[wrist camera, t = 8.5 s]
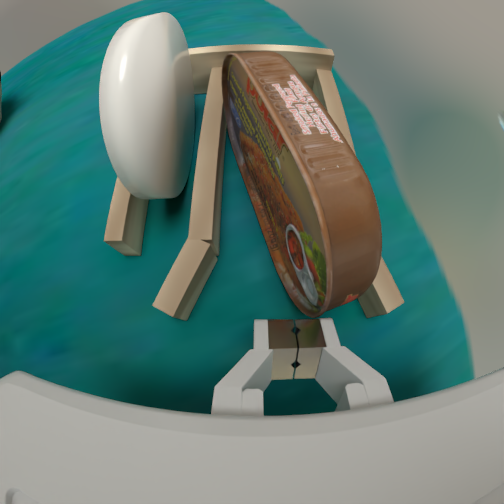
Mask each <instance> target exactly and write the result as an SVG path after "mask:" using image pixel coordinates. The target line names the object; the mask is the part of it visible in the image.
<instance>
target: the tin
mask: <svg viewBox="0 0 504 504" xmlns="http://www.w3.org/2000/svg"><path fill="white" fill-rule="evenodd" d="M221 79H222V82H221V83H222V96H223V104H224V110H225V117H226V123H227V129H228V134H229V138H230V141H231V145H232V149H233V152H234V155H235V158H236V161H237V164H238V167H239V169H240V172H241V174H242V177H243V180H244V183H245V185H246V188H247V191H248V193H249V196H250V199H251V202H252V204H253V207H254V210H255V213H256V215H257V218H258V221H259V224H260V227H261V229H262V232H263V235H264V238H265V240H266V243H267V246H268V249H269V252H270V254H271V257H272V260H273V262H274V265H275V268H276V270H277V272H278V275H279V277H280V279H281V281H282V283H283V285H284V287H285V289H286V291H287V293H288V295H289V296H290V298H291V299H292V301H293V302H294V303H295V305H296V306H297V307H298V308H299V309H300V311H301V312H303V313H304V314H306V315H307V316H309V317H312V318H316V317H319V316H321V315H322V314H323V313H324V312H325V311H328V310H330V309H333V308H335V307H338V306H341V305H343V304H346V303H348V302H351V301H353V300H355V299H357V298H359V297H360V296H361V295H363V294H364V293H365V292H366V291H367V289H368V288H369V287H370V286H371V284H372V283H373V281H374V279H375V278H376V275H377V272H378V269H379V265H380V260H381V251H382V233H381V222H380V217H379V211H378V207H377V203H376V199H375V196H374V193H373V190H372V187H371V184H370V182H369V179H368V177H367V175H366V173H365V171H364V169H363V167H362V165H361V164H360V162H359V161H358V159H357V157H356V155H355V154H354V152H353V150H352V149H351V147H350V145H349V144H348V142H347V140H346V139H345V137H344V136H343V134H342V133H341V131H340V130H339V128H338V126H337V125H336V123H335V122H334V121H333V119H332V118H331V116H330V115H329V113H328V112H327V110H326V109H325V107H324V106H323V105H322V103H321V102H320V101H319V99H318V98H317V96H316V95H315V94H314V92H313V91H312V90H311V88H310V87H309V86H308V84H307V83H306V82H305V81H304V79H303V78H302V77H301V75H300V74H299V73H298V72H297V71H296V69H295V68H294V67H293V66H292V65H291V63H290V62H289V61H288V60H287V59H286V58H285V57H283V56H282V55H281V54H279V53H276V52H270V51H261V52H250V53H241V54H236V53H229V54H227V55H226V56H225V58H224V61H223V65H222V78H221Z"/></svg>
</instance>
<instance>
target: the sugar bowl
mask: <svg viewBox="0 0 504 504" xmlns="http://www.w3.org/2000/svg"><path fill="white" fill-rule="evenodd" d="M1 97H2V88H1V72H0V122H1V119H2V115H1Z"/></svg>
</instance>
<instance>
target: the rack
mask: <svg viewBox="0 0 504 504" xmlns="http://www.w3.org/2000/svg"><path fill="white" fill-rule="evenodd" d="M188 50H189V55H190V60H191V67H192V74H193V84H194V94H202V93H207V96H206V102H205V108H204V114H203V120H202V126H201V133H200V140H199V147H198V154H197V161H196V169H195V177H194V186H193V195H192V204H191V215H190V225H189V237H188V239H187V240H186V242H185V244H184V246H183V248H182V250H181V251H180V253H179V255H178V257H177V259H176V261H175V263H174V264H173V266H172V268H171V270H170V272H169V274H168V276H167V278H166V280H165V282H164V283H163V285H162V287H161V289H160V291H159V293H158V295H157V297H156V299H155V301H154V303H153V305H152V306H154V307H156V308H158V309H159V310H161V311H163V312H165V313H166V314H168V315H170V316H172V317H175V318H178V319H182V320H186V321H187V319H188V317H189V315H190V313H191V311H192V309H193V307H194V305H195V303H196V301H197V299H198V297H199V295H200V293H201V291H202V289H203V287H204V285H205V283H206V281H207V279H208V277H209V275H210V274H211V272H212V270H213V268H214V266H215V264H216V262H217V260H218V259H217V257H216V256H219V240H220V219H221V200H222V183H223V167H224V153H225V139H226V127H227V123H226V117H225V110H224V104H223V96H222V83H221V82H222V79H221V78H222V65H223V61H224V58H225V56H226V55H227V54H229V53H236V54H241V53H250V52H261V51H270V52H276V53H279V54H281V55H282V56H283V57H285V58H286V59H287V60H288V61H289V62H290V63H291V65H292V66H293V67H294V68H295V69H296V71H297V72H298V73H299V74H300V75H301V77H302V78H303V79H304V81H305V82H306V83H307V84H308V86H309V87H310V88H311V90H312V91H313V92H314V94H315V95H316V96H317V98H318V99H319V101H320V102H321V103H322V105H323V106H324V107H325V109H326V110H327V112H328V113H329V115H330V116H331V118H332V119H333V121H334V122H335V123H336V125H337V126H338V128H339V130H340V131H341V133H342V134H343V136H344V137H345V139H346V140H347V142H348V144H349V145H350V147H351V149H352V150H353V152H354V154H355V151H354V147H353V143H352V139H351V135H350V131H349V127H348V124H347V120H346V116H345V113H344V110H343V106H342V103H341V100H340V96H339V93H338V90H337V87H336V84H335V81H334V78H333V75H332V72H331V68H332V64H333V60H334V53H333V51H332V50H331V49H323V48H314V47H303V46H289V45H225V46H211V47H200V48H191V49H188ZM148 202H149V199H140V198H137V197H135V196H134V195H132V194H131V193H130V192H129V191H128V190H127V189H126V188H125V187H124V185H123V184H122V182H121V181H120V179H119V178H118V176H117V180H116V184H115V188H114V193H113V197H112V201H111V206H110V211H109V216H108V221H107V226H106V231H105V237H104V241H105V242H106V243H107V244H109V245H110V246H112V247H113V248H114V249H116V250H117V251H119V252H120V253H122V254H123V255H141V249H142V241H143V234H144V227H145V220H146V214H147V207H148ZM358 300H359V303H360V305H361V307H362V309H363V311H364V313H365V315H366V317H367V318H370V317H374V316H379V315H383V314H388V313H389V312H391V311H392V310H394V309H395V308H397V307H398V306H400V305H401V304H403V303H404V300H403V298H402V296H401V294H400V292H399V290H398V288H397V286H396V284H395V282H394V280H393V278H392V276H391V274H390V272H389V270H388V268H387V266H386V264H385V262H384V260H383V259H382V257H381V260H380V265H379V269H378V272H377V275H376V278H375V279H374V281H373V283H372V284H371V286H370V287H369V288H368V289H367V291H366V292H365V293H364V294H363V295H361V296H360V297H359V298H358Z"/></svg>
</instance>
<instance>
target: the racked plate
mask: <svg viewBox="0 0 504 504" xmlns="http://www.w3.org/2000/svg"><path fill="white" fill-rule="evenodd" d="M99 109H100V120H101V127H102V132H103V138H104V142H105V145H106V149H107V153H108V155H109V158H110V161H111V163H112V166H113V168H114V170H115V172H116V174H117V176H118V178H119V179H120V181H121V182H122V184H123V185H124V187H125V188H126V189H127V190H128V191H129V192H130V193H131V194H132V195H134V196H135V197H137V198H140V199H163V198H174V197H177V196H178V195H179V194H180V193H181V192H182V190H183V188H184V186H185V184H186V181H187V179H188V175H189V171H190V166H191V161H192V154H193V144H194V129H195V101H194V84H193V74H192V67H191V60H190V55H189V50H188V46H187V42H186V39H185V36H184V33H183V31H182V29H181V26H180V25H179V23H178V21H177V20H176V19H175V17H173V16H172V15H171V14H169V13H165V12H162V13H157V14H153V15H148V16H144V17H140V18H136V19H133V20H130V21H128V22H126V23H125V24H123V25H122V26H121V27H120V28H119V29H118V31H117V32H116V33H115V35H114V36H113V38H112V40H111V42H110V44H109V46H108V49H107V52H106V55H105V58H104V61H103V66H102V71H101V78H100V88H99Z"/></svg>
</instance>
